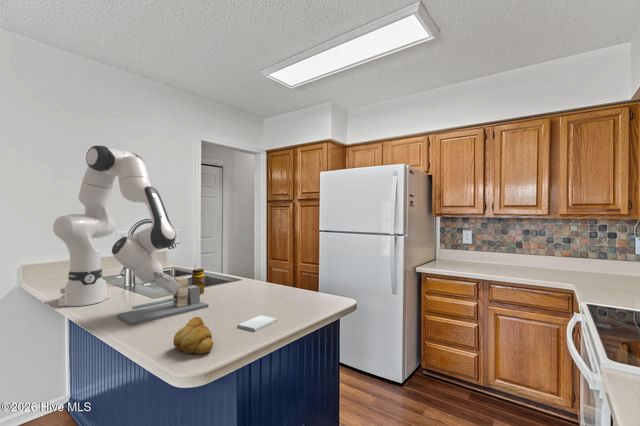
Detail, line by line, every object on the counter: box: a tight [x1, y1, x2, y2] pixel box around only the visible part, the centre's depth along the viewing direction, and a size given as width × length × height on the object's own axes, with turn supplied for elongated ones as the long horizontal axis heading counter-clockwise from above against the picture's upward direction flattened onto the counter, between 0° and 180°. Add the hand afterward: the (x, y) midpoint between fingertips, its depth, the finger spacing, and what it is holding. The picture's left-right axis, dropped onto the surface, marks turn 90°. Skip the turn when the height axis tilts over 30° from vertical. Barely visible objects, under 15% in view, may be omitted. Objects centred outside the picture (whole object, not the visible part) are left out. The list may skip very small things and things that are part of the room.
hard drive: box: [236, 314, 278, 332], centre depth 114 cm, size 2×8×12 cm
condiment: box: [191, 268, 207, 296], centre depth 156 cm, size 7×8×12 cm
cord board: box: [116, 284, 209, 327], centre depth 127 cm, size 14×30×8 cm, turn 140°
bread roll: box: [173, 316, 214, 355], centre depth 93 cm, size 13×10×8 cm
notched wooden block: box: [172, 276, 189, 307], centre depth 132 cm, size 4×4×11 cm
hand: (174, 292), depth 130 cm, fingers closed, pressing on notched wooden block
